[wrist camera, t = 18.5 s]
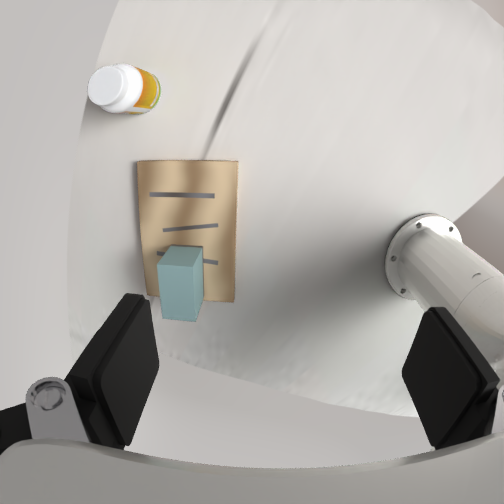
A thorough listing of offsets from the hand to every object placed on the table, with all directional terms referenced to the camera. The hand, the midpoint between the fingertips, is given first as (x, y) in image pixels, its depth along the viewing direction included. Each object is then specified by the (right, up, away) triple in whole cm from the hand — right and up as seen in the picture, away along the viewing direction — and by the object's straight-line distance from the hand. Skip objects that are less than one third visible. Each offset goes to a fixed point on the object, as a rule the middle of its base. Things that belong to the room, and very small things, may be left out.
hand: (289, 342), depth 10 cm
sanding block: (-9, +1, +29) cm, 31 cm away
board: (-9, +5, +29) cm, 31 cm away
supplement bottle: (-14, +22, +22) cm, 35 cm away
